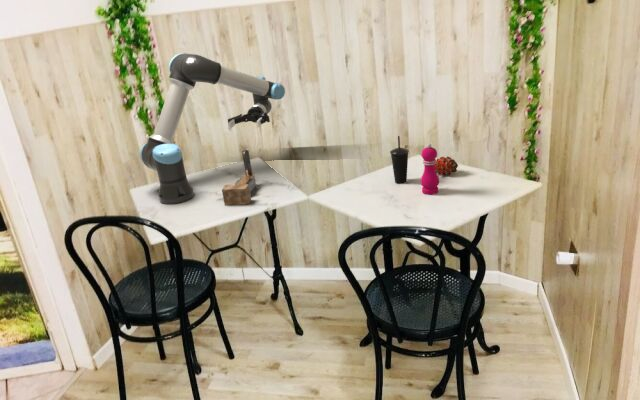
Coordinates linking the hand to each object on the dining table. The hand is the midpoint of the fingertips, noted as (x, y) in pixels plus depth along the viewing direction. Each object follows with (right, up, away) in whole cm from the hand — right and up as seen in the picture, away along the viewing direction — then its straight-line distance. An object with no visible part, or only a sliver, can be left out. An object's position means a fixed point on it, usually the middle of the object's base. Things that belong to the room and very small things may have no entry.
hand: (243, 125), depth 236 cm
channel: (+2, -30, -7) cm, 31 cm away
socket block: (0, -35, -17) cm, 39 cm away
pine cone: (+88, -23, -12) cm, 92 cm away
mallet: (+2, -28, -6) cm, 29 cm away
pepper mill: (+79, -31, -28) cm, 89 cm away
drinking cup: (+69, -26, -15) cm, 75 cm away
